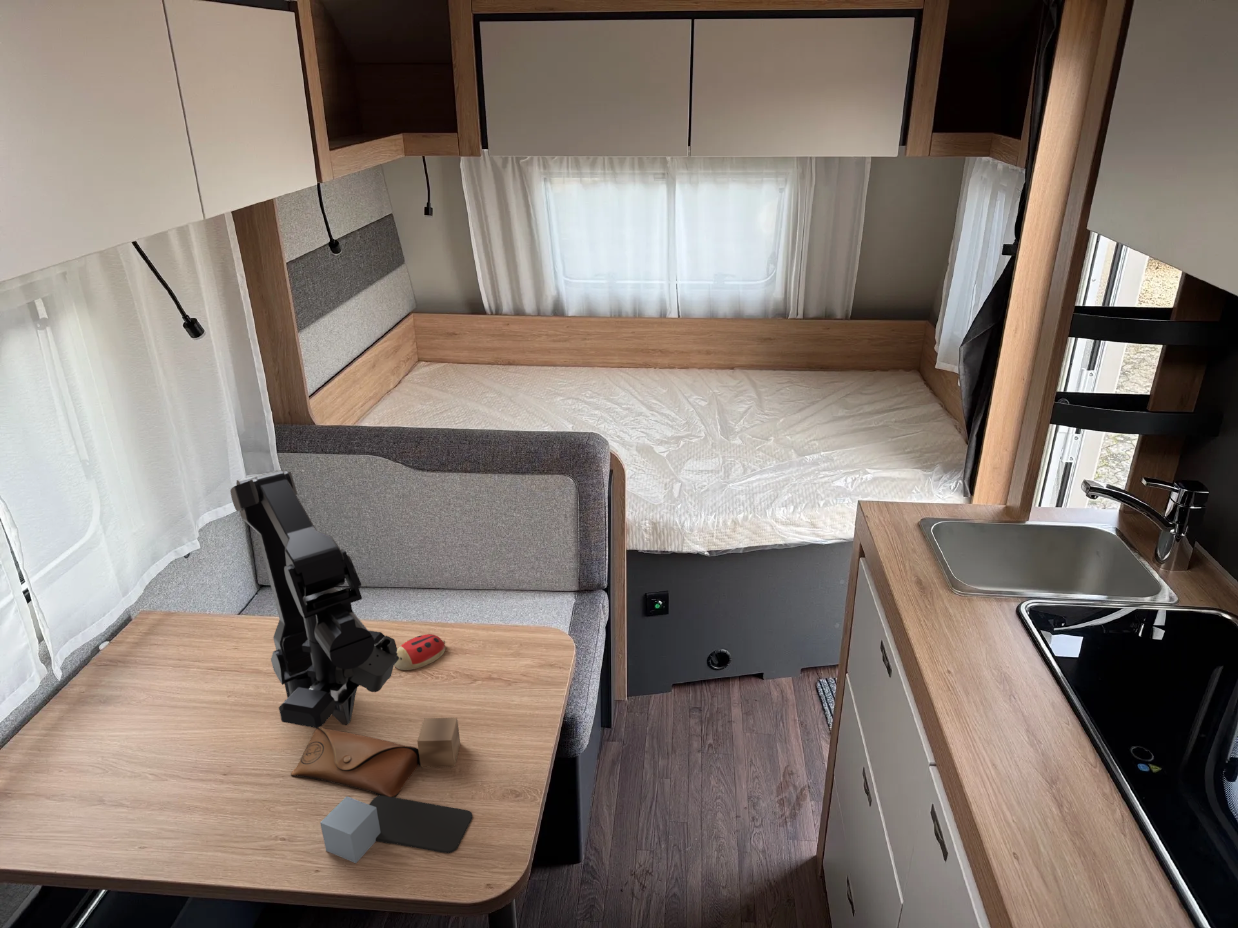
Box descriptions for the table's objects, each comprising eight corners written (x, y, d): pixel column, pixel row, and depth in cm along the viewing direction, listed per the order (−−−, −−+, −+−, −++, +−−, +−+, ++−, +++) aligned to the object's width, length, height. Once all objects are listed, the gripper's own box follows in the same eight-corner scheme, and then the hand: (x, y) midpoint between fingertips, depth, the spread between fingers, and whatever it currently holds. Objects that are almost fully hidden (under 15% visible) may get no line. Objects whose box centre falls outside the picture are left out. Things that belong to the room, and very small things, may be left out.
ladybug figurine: (386, 661, 150) (383, 644, 149) (434, 639, 156) (432, 622, 155) (405, 678, 146) (402, 661, 144) (454, 654, 152) (452, 637, 151)
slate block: (326, 850, 112) (320, 822, 110) (352, 823, 116) (346, 795, 114) (355, 863, 110) (350, 834, 108) (381, 835, 114) (376, 807, 112)
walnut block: (420, 767, 126) (417, 740, 124) (427, 744, 130) (424, 718, 128) (454, 766, 126) (451, 740, 124) (460, 743, 130) (457, 717, 128)
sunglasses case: (285, 776, 124) (293, 729, 125) (313, 766, 131) (321, 722, 132) (394, 799, 119) (402, 751, 120) (418, 789, 126) (425, 743, 127)
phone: (453, 853, 111) (349, 833, 114) (454, 857, 111) (350, 838, 114) (475, 810, 117) (376, 793, 120) (475, 815, 118) (376, 797, 121)
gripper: (344, 681, 106) (361, 779, 112) (414, 602, 122) (426, 691, 128) (267, 669, 108) (288, 764, 114) (346, 593, 125) (360, 680, 131)
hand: (345, 723), depth 122 cm, fingers closed
